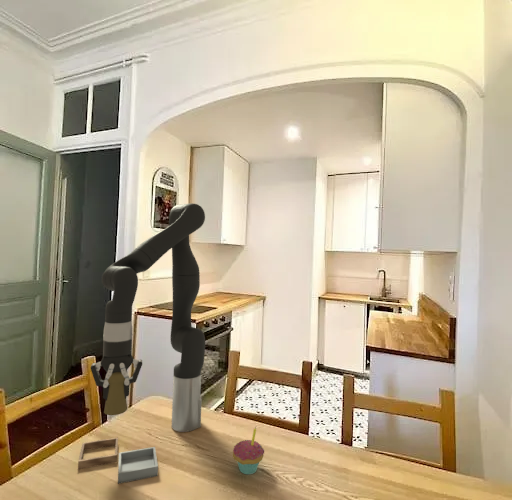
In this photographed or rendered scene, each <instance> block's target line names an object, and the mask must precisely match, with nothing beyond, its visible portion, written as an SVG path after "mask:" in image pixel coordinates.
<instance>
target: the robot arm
mask: <svg viewBox="0 0 512 500" xmlns="http://www.w3.org/2000/svg"><path fill="white" fill-rule="evenodd" d="M168 216H169V218H168V222H169V225H168V226H167V227H165V228H164V229H162V230H161V231H159V232H157V233H155V234H153V235H151V236H150V237H148V238H147V239H145V240H144V241H143V242H142V243H140V244H139V245H138V246H137V247H135V248H134V249H133V250H132V251H131V252H130V253H129V254H127V255H125V256H123V257H121V258H120V259H119V260H117V261H115V262H114V263H112V264H111V265H109V266H108V267H107V268H106V269H105V271H104V272H103V273H102V275H101V283H102V285H103V287H104V288H105V289H107V290H109V291H113V295H112V299H111V300H109V301H107V302H106V304H105V309H104V313H105V314H104V315H105V316H104V317H105V318H104V327H103V335H102V338H103V341H102V342H103V343H102V344H103V346H102V358H101V359H100V360H101V361H98V362H93V363H91V365H90V372H91V374H92V377H93V380H94V382H95V385H96V387H101V388H103V389H102V390H103V391H102V394H103V395H102V398H103V400H105V402H106V401H107V398H108V392H109V387H108V385H109V383H108V379H109V377H110V376H111V375H112V373H115V372H122V375H123V376H124V378H125V381H124V382H125V385H124V396H125V399H126V400H127V398H128V397H129V396H130V385H131V384H132V383H136V382H137V380H138V377H139V374H140V372H141V368H142V366H143V360H142V359H141V358H139V359H136V358H134V356H133V321H132V320H133V305H134V302H135V298H136V294H137V290H138V286H139V285H138V284H139V277H138V274H139V273H144V272H146V271H148V270H149V269H150V268H151V267H153V265H154V264H156V263H157V262H158V261H159V260H160V259H161V258H162V257H163V256H165V254H167V252H169V251H170V250H171V258H172V259H171V261H172V265H171V266H172V272H171V273H172V274H171V277H172V278H171V279H172V280H171V281H172V285H171V286H172V287H171V289H172V317H171V326H170V344H171V347H172V349H174V351H176V352H178V353H180V354H181V356H180V357H181V358H180V363H177V364H175V366H174V367H173V376H172V377H173V379H172V380H173V382H172V404H171V406H172V407H171V409H172V411H171V428H172V430H174V431H176V432H179V433H181V432H183V433H185V432H186V433H187V432H191V431H194V430H196V429H200V428H201V427H202V424H201V423H202V404H203V403H202V397H201V386H202V385H201V384H202V383H201V381H202V377H201V376H202V369H203V367H204V363H205V353H206V352H205V351H206V337H205V334H204V332H203V331H202V330H201V329H199V328H196V327H193V326H192V310H193V306H194V304H195V301H196V299H197V297H198V294H199V291H200V286H201V285H200V283H201V282H200V267H199V264H198V262H197V260H196V257H195V256H194V254H193V251H192V248H191V245H190V235H191V234H193V233H195V232H196V231H197V230H199V229H200V228H202V226H203V225H204V224H205V221H206V213H205V209H204V208H203V207H202V206H201V205H199V204H198V203H184V204H177V205H174V206H173V207H172V208H171V210H170V212H169V215H168ZM132 364H133V368H134V371H133V373H132V376H131V377H130V375H129V372H128V370H129V369H130V367H131V365H132ZM101 367H102V368H103V369H104V371H105V372H106V374H105V378H104V379H102V377H101V375H100V372H99V371H100V369H101ZM124 373H125V374H124Z"/></svg>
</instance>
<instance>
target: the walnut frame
mask: <svg viewBox="0 0 512 500" xmlns="http://www.w3.org/2000/svg"><path fill="white" fill-rule="evenodd" d="M118 446H119V437H113V438H112V437H111V438H104V439H100V440H99V439H98V440H93V441H92V440H91V441H85V442H82V444H81V448H80V452H79V457H78V463H77V470H81V469H82V470H83V469H87V468H92V467H98V466H105V465H109V464H110V465H111V464H115V463H118V449H119V448H118ZM107 447H114V448H115V450H114V454H109V455H103V456H96V457H95V456H94V457H90V458H84V454H85V451H89V450H95V449H96V450H97V449H103V448H107Z"/></svg>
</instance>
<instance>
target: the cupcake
mask: <svg viewBox="0 0 512 500" xmlns="http://www.w3.org/2000/svg"><path fill="white" fill-rule="evenodd" d="M256 433H257V426H255V428H253V433H252V437H251V439H246V440H241V441H239V442H237V443H236V444H235V445H234V446H233V449H232V458H233V460H235V462H236V463H237V465H238V470H239V472H240V473H242V474H244V475H253V474H254V473H256V472H257V470H258V467H259V464H260V462H262V461H263V459H264V454H265V449H264V448H263V447H262V445H261V444H260V443H259V442H258V441H256V440H255V438H256Z"/></svg>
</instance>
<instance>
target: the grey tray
mask: <svg viewBox="0 0 512 500" xmlns="http://www.w3.org/2000/svg"><path fill="white" fill-rule="evenodd" d="M117 470H118V471H117V484H119V483H120V484H122V483H124V482H125V483H128V482H134V481H139V480H145V479H149V478H154V477H158V475H159V473H158V472H159V464H158V458H157V451H156V446H153V447H145V448H140V449H139V448H138V449H133V450H128V451H121V452H118V469H117ZM120 484H119V485H120Z"/></svg>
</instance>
